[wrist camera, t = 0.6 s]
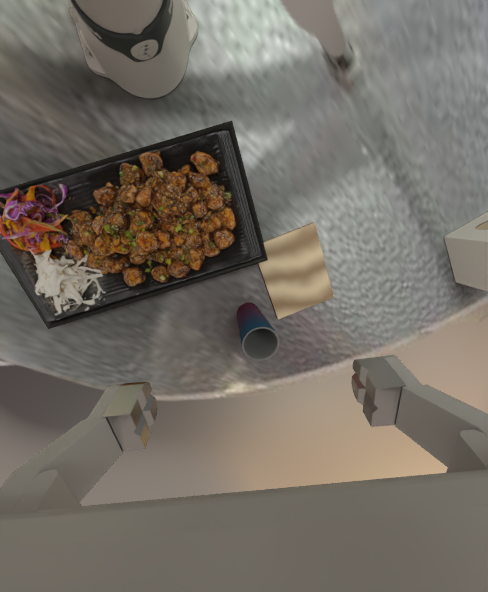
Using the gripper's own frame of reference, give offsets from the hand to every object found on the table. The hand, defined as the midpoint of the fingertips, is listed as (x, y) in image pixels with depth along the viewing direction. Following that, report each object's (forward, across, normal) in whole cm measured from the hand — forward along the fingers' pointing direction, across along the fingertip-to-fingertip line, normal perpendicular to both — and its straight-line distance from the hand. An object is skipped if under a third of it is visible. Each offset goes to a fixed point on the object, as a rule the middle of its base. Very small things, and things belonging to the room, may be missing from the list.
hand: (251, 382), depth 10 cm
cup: (+45, +1, +21) cm, 49 cm away
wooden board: (+47, -10, +14) cm, 50 cm away
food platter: (+44, +20, 0) cm, 48 cm away
